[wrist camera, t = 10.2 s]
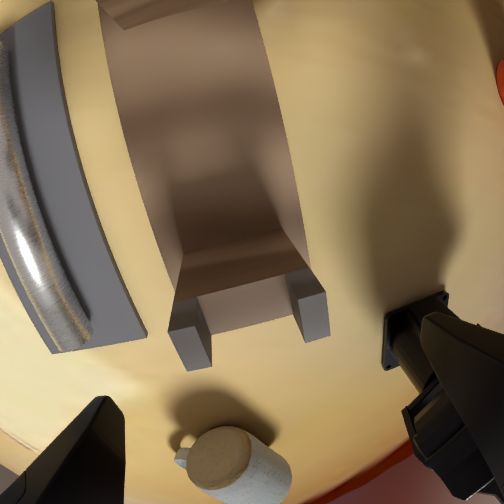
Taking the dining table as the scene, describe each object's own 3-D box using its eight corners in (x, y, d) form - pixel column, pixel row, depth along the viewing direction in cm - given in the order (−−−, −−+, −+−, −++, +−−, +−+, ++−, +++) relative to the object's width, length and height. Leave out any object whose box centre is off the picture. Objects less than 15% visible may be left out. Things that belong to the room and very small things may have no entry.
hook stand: (306, 274, 20) (359, 361, 12) (187, 305, 19) (177, 406, 12) (233, -39, 11) (249, -126, 4) (103, -4, 11) (45, -69, 3)
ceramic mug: (244, 409, 24) (254, 484, 17) (286, 442, 27) (299, 503, 20) (156, 440, 25) (150, 504, 18) (205, 469, 28) (207, 524, 21)
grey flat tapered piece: (147, 333, 20) (146, 337, 19) (54, 350, 20) (52, 354, 19) (53, 3, 10) (50, 1, 10) (-37, 68, 10) (-41, 68, 10)
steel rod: (98, 322, 18) (85, 349, 16) (66, 328, 18) (51, 354, 16) (15, 45, 11) (-10, 37, 8) (-15, 68, 11) (-41, 64, 8)
